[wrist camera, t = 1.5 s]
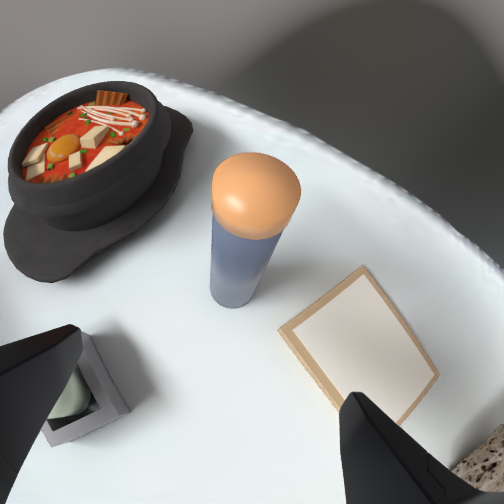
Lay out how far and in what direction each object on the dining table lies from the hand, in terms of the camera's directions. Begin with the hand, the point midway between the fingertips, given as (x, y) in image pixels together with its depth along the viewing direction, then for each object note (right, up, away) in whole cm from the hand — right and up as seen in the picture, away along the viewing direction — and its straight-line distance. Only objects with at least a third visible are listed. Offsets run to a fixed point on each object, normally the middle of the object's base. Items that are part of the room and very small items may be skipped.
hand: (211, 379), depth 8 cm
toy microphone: (0, +1, +15) cm, 15 cm away
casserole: (-15, +11, +18) cm, 26 cm away
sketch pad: (+11, -5, +14) cm, 19 cm away
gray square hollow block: (-13, -7, +9) cm, 17 cm away
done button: (-13, -7, +8) cm, 16 cm away
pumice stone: (+27, -22, +9) cm, 36 cm away
